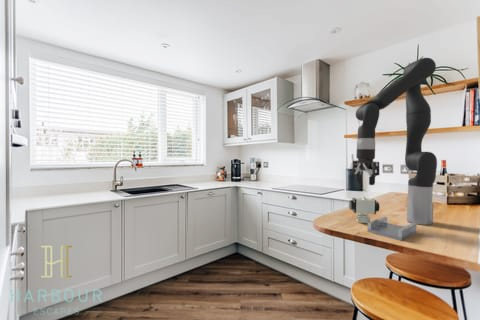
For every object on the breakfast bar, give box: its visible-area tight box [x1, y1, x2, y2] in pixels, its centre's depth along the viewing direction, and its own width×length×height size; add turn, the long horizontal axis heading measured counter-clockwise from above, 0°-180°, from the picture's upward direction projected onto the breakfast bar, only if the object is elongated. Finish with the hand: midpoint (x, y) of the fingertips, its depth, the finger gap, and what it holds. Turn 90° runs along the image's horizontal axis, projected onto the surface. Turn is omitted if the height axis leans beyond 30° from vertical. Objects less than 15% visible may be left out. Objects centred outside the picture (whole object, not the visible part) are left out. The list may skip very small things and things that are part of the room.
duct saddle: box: [367, 216, 418, 241], centre depth 96 cm, size 16×12×4 cm
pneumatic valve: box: [348, 196, 380, 225], centre depth 109 cm, size 6×12×12 cm, turn 79°
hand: (364, 183), depth 109 cm, fingers open, 8 cm apart
